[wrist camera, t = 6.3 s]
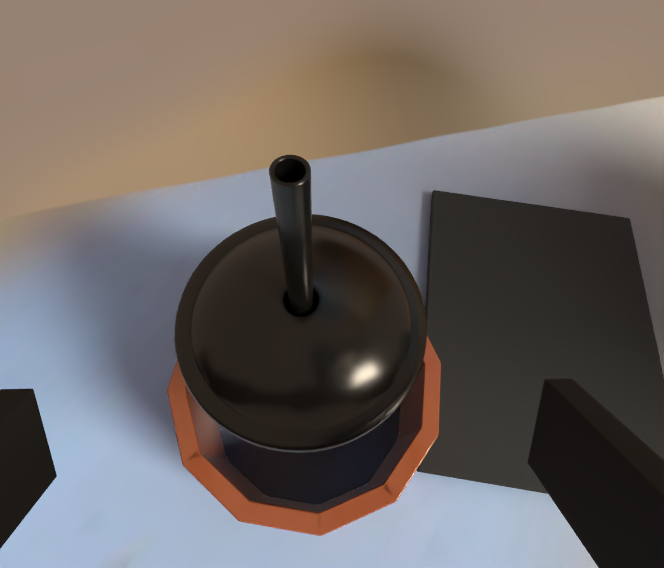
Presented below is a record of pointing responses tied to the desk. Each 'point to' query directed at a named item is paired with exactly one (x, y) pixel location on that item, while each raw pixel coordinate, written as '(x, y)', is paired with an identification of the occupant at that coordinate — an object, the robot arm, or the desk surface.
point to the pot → (255, 508)
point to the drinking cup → (300, 326)
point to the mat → (532, 329)
